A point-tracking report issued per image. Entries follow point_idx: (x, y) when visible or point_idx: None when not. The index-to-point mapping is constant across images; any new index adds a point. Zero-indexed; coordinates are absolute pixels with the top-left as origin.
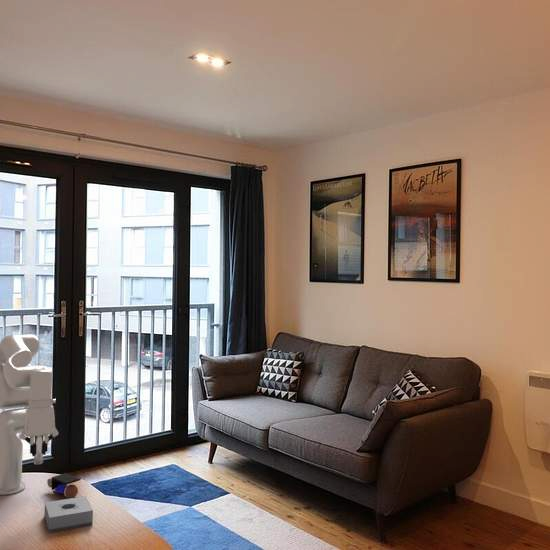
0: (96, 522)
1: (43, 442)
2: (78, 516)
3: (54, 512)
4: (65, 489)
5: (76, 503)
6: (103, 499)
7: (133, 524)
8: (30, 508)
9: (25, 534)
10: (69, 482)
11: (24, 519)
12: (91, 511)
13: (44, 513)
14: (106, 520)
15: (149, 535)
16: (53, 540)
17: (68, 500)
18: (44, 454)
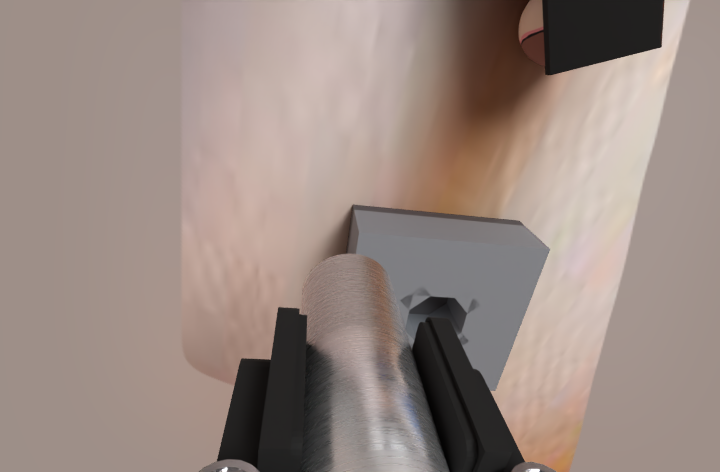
0: None
1: (474, 463)
2: None
3: None
4: (538, 25)
5: (476, 307)
6: (641, 147)
7: (573, 394)
8: (317, 65)
9: (256, 322)
10: (572, 68)
11: (269, 190)
12: (488, 387)
13: (353, 213)
14: (528, 339)
15: (561, 458)
16: None
17: (462, 261)
18: None
